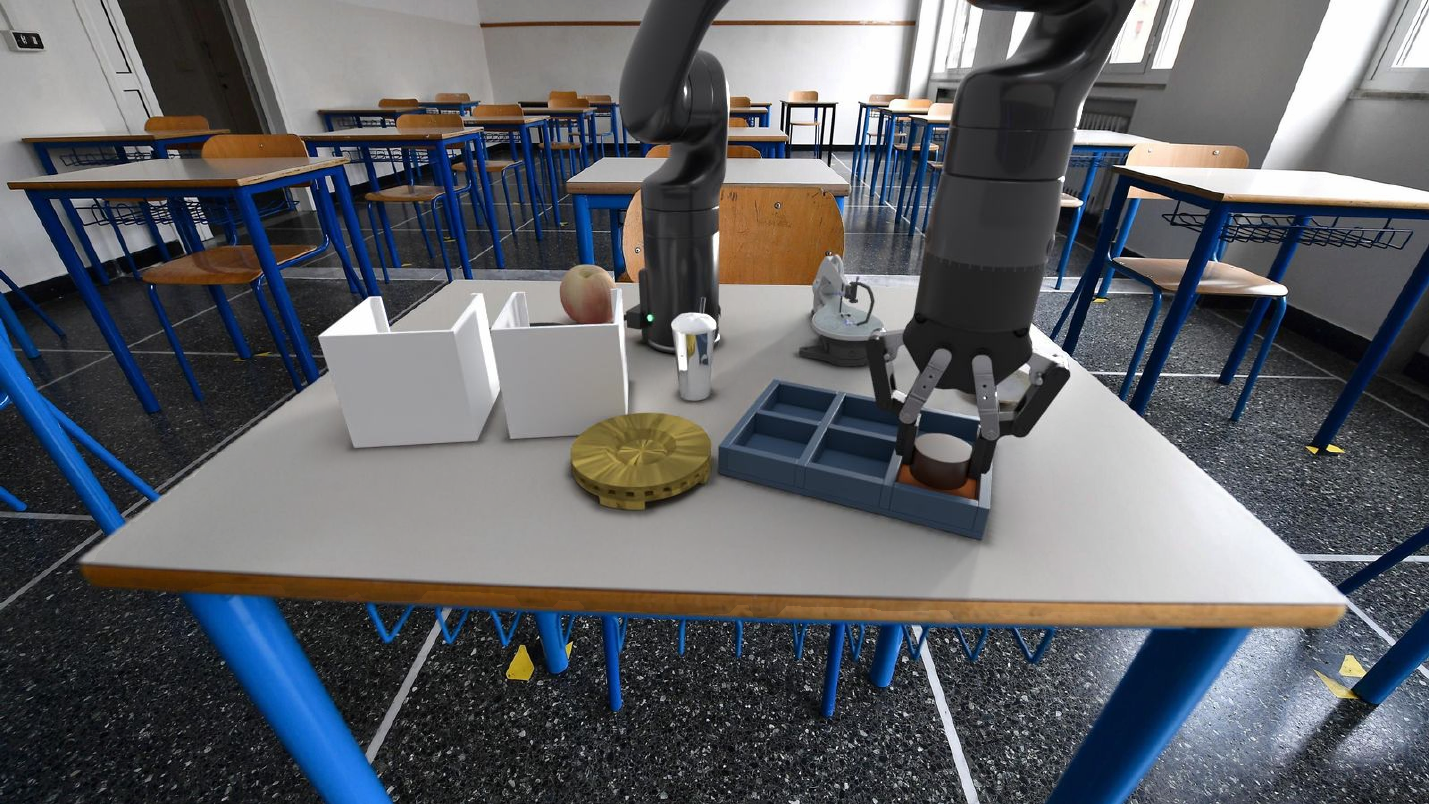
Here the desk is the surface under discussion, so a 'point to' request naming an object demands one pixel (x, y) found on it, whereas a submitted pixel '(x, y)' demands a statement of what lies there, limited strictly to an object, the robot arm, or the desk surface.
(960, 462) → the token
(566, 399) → the white open box
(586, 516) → the desk surface
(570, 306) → the fruit
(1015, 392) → the seashell
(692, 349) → the milkshake
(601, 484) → the gold notched disc
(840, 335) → the scroll saw
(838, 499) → the grid
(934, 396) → the desk surface
